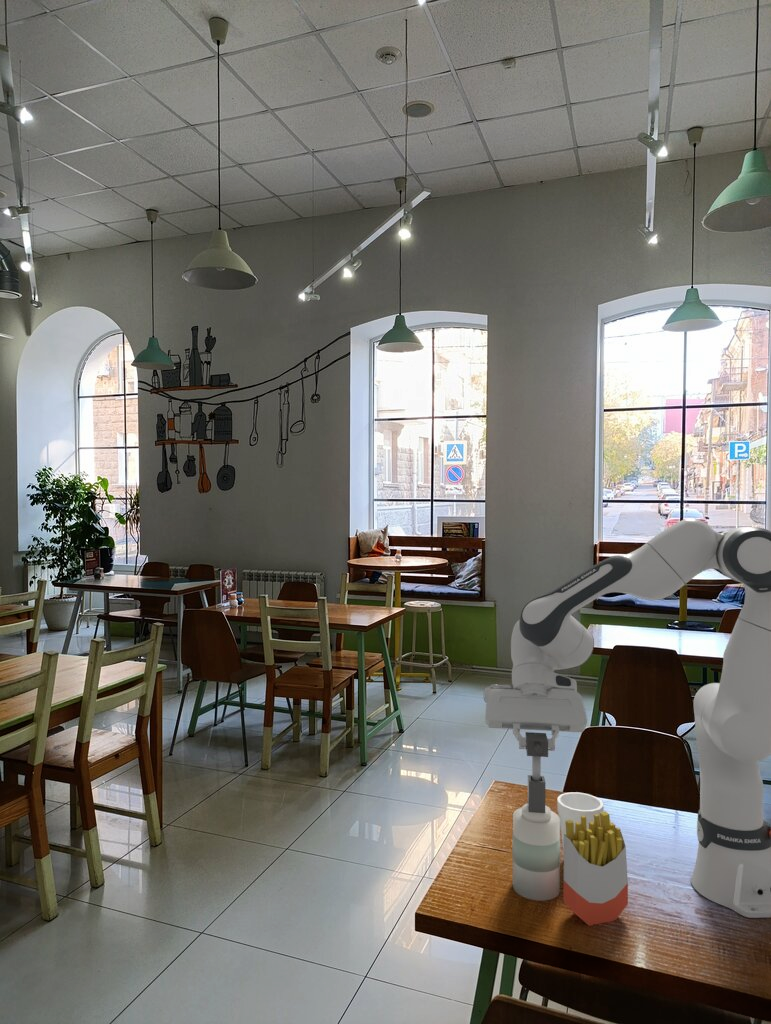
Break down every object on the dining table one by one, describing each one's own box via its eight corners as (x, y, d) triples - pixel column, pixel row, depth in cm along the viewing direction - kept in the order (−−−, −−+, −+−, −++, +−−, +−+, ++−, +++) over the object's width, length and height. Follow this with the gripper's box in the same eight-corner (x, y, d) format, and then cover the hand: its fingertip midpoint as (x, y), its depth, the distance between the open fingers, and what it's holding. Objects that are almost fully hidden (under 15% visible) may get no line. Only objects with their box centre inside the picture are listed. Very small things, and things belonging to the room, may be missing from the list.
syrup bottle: (557, 876, 135) (557, 771, 135) (562, 903, 126) (563, 789, 126) (511, 873, 137) (511, 768, 137) (513, 898, 128) (513, 786, 128)
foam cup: (605, 877, 135) (605, 813, 135) (558, 872, 137) (558, 809, 137) (600, 853, 145) (600, 794, 145) (556, 849, 146) (556, 790, 146)
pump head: (545, 778, 134) (545, 733, 134) (550, 797, 125) (550, 748, 125) (525, 777, 134) (525, 732, 134) (528, 796, 125) (528, 747, 125)
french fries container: (629, 919, 121) (629, 820, 121) (577, 929, 118) (577, 828, 118) (613, 905, 126) (614, 809, 126) (563, 914, 123) (563, 817, 123)
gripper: (483, 676, 140) (483, 738, 130) (583, 680, 137) (591, 744, 127) (483, 691, 144) (483, 752, 135) (580, 696, 141) (587, 758, 132)
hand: (536, 748), depth 131 cm, fingers closed on pump head, 4 cm apart
